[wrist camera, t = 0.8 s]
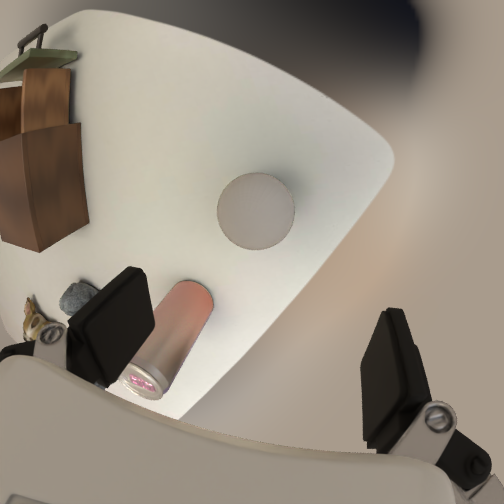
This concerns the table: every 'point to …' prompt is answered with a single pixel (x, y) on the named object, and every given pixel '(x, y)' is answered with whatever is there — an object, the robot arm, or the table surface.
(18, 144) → the cabinet
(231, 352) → the table surface
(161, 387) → the beverage can
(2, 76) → the drawer
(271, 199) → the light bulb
